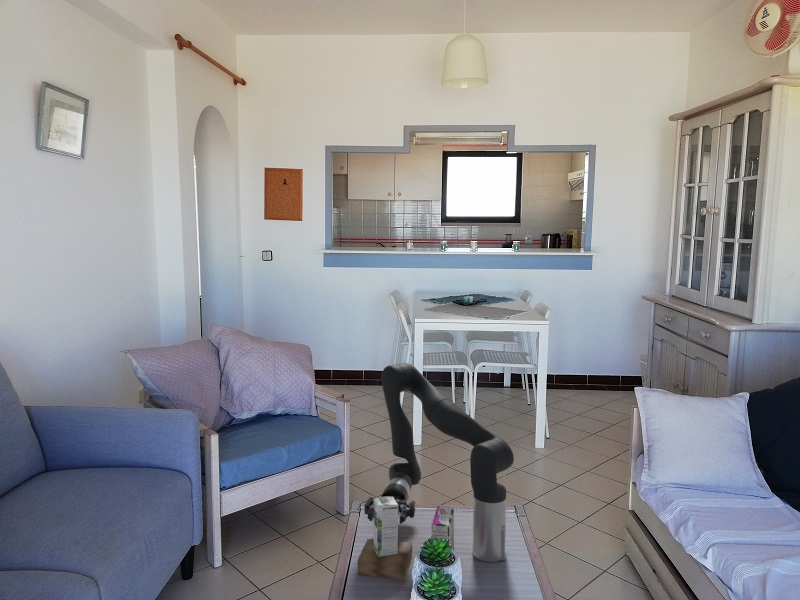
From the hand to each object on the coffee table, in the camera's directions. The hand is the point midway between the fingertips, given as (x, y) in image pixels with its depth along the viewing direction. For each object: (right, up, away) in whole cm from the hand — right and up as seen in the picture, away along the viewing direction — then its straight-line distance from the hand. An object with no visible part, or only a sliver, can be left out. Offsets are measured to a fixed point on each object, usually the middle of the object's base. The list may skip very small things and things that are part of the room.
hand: (385, 519), depth 170 cm
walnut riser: (0, -13, +2) cm, 14 cm away
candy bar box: (+16, -14, -2) cm, 21 cm away
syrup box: (0, -10, +1) cm, 10 cm away
